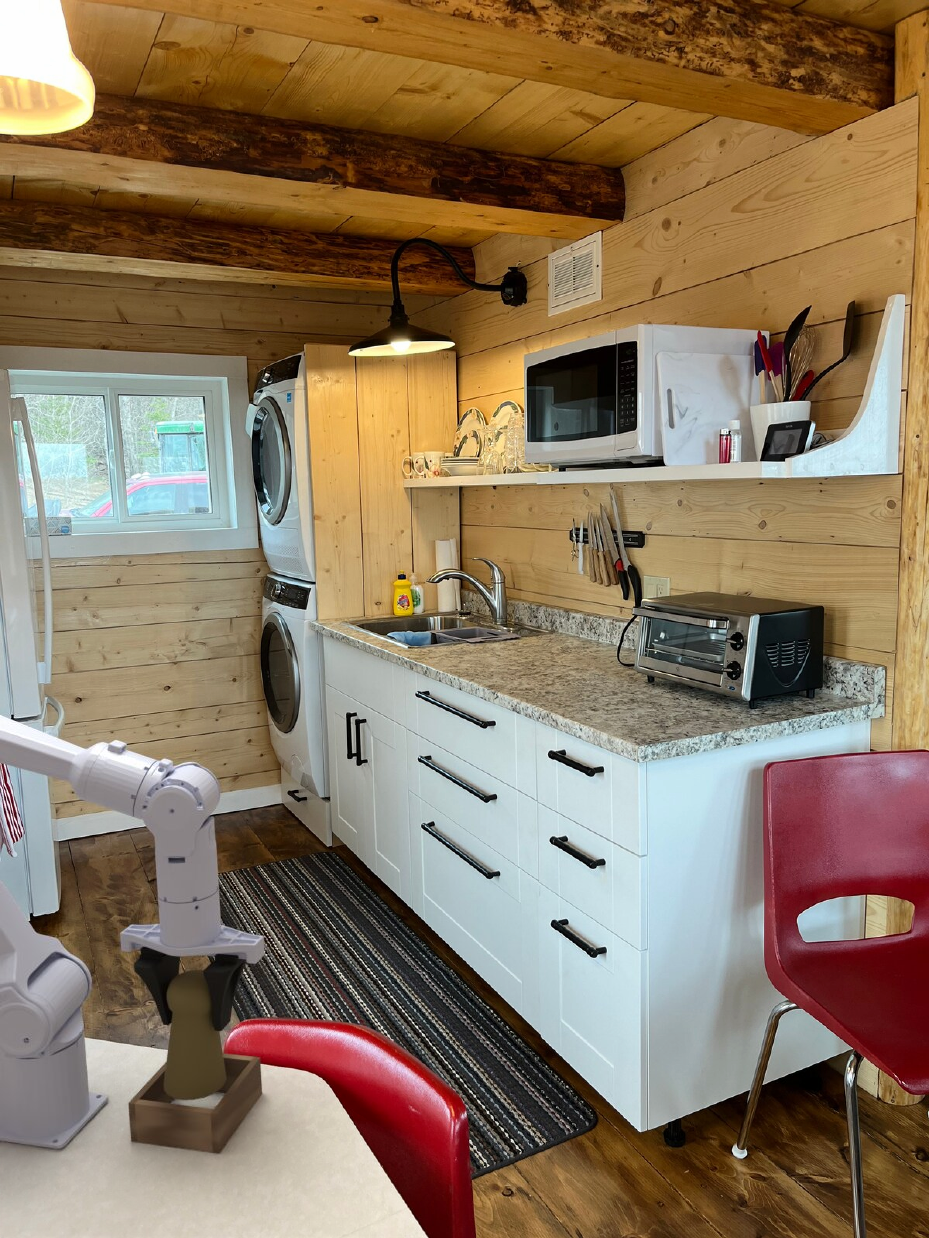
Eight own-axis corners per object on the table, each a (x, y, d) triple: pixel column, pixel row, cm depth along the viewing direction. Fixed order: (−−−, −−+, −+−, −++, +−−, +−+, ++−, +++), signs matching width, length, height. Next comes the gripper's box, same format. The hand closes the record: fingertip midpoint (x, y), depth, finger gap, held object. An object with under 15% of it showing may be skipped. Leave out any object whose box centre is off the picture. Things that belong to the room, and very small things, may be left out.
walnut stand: (131, 1141, 91) (128, 1102, 91) (180, 1083, 100) (178, 1048, 100) (219, 1153, 89) (217, 1114, 89) (262, 1093, 98) (260, 1057, 98)
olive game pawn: (214, 1101, 90) (213, 992, 89) (153, 1097, 90) (151, 988, 89) (234, 1066, 96) (233, 963, 95) (177, 1062, 96) (176, 960, 96)
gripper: (274, 880, 94) (281, 1008, 95) (144, 870, 97) (153, 995, 98) (242, 909, 87) (250, 1047, 88) (104, 898, 90) (113, 1031, 92)
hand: (196, 1022), depth 93 cm, fingers closed on olive game pawn, 5 cm apart
